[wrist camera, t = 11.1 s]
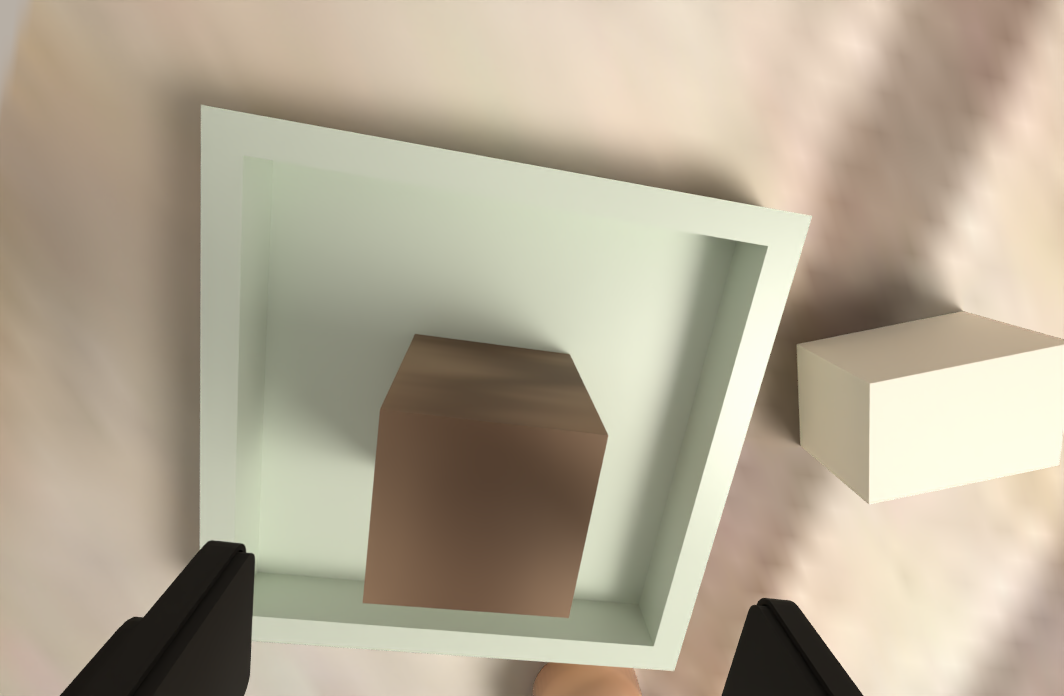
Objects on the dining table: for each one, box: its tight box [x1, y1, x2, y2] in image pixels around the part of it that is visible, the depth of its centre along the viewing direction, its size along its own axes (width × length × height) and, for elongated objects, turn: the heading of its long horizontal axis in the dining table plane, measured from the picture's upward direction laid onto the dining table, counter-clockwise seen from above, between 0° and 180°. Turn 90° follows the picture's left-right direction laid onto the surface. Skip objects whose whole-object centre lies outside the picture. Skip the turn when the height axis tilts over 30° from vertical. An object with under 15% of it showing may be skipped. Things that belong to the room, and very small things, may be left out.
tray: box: [200, 105, 812, 671], centre depth 18 cm, size 16×16×3 cm
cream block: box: [797, 311, 1064, 504], centre depth 18 cm, size 6×4×4 cm, turn 100°
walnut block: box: [363, 334, 608, 618], centre depth 16 cm, size 5×5×6 cm
